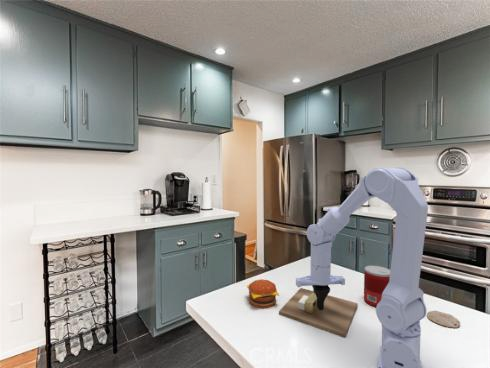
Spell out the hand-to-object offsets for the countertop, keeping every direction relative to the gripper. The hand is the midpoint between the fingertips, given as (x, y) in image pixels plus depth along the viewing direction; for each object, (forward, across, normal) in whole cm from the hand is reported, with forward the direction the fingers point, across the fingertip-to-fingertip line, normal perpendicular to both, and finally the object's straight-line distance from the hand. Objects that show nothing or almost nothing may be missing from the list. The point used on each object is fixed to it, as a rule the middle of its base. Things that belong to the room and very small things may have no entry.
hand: (319, 308), depth 74 cm
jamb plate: (+2, -1, -2) cm, 3 cm away
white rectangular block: (+1, +4, -4) cm, 5 cm away
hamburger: (+2, +16, -10) cm, 19 cm away
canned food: (+2, -22, -5) cm, 22 cm away
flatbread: (+3, -35, +6) cm, 35 cm away
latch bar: (+1, 0, -3) cm, 3 cm away
